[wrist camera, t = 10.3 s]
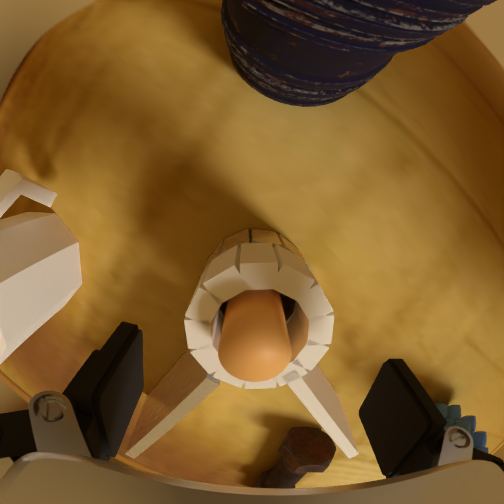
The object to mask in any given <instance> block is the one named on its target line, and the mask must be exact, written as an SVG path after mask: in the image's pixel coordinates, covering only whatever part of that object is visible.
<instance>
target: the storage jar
mask: <svg viewBox="0 0 504 504" xmlns="http://www.w3.org/2000/svg"><path fill="white" fill-rule="evenodd" d="M495 1H496V0H223V2H222V10H221V18H222V25H223V28H224V32H225V38H226V41H227V44H228V48H229V51H230V56H231V59H232V62H233V64H234V66H235V68H236V70H237V72H238V73H239V74H240V75H241V77H242V78H243V79H244V80H245V81H246V82H247V83H248V84H249V85H250V86H251V87H252V88H254V89H255V90H256V91H258V92H259V93H261V94H263V95H264V96H266V97H268V98H270V99H273V100H275V101H278V102H280V103H284V104H288V105H293V106H302V107H312V106H320V105H326V104H329V103H332V102H335V101H337V100H339V99H341V98H343V97H344V96H346V95H347V94H348V93H350V92H352V91H354V90H356V89H358V88H360V87H361V86H363V85H364V84H365V83H367V82H368V81H369V80H371V79H372V78H373V77H374V76H375V75H376V74H377V73H378V72H380V71H381V70H382V69H383V68H384V67H385V66H386V65H387V64H388V63H389V62H390V61H391V59H392V57H393V56H394V55H395V54H396V53H398V52H404V51H407V50H409V49H414V48H417V47H419V46H422V45H425V44H427V43H428V42H430V41H431V40H433V39H434V38H435V37H436V36H438V35H441V34H443V33H444V32H446V31H448V30H450V29H451V28H453V27H455V26H457V25H458V24H460V23H461V22H463V21H465V19H466V18H467V17H468V15H470V14H472V13H473V12H475V11H477V10H479V9H480V8H482V6H483V5H489V4H491V3H493V2H495Z"/></svg>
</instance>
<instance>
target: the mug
mask: <svg viewBox="0 0 504 504" xmlns="http://www.w3.org/2000/svg"><path fill="white" fill-rule="evenodd" d="M20 195H23V196H25V197H28V198H30V199H32V200H34V201H37V202H39V203H41V204H43V205H46V206H48V207H51V205H52V203H53V201H54V199H55V198H56V196H57V193H55V192H53V191H51V190H49V189H48V188H46V187H44V186H43V185H41V184H39V183H37V182H35V181H33V180H31V179H29V178H27V177H25V176H24V175H22V174H20V173H18V172H15V171H12V170H9V169H6V170H5V171H4V172H3V173H2V175H1V176H0V218H1V216H2V215H3V214H4V213H5V212H6V211H7V209H8V208H9V207H10V206H11V205H12V204H13V203H14V202H15V201H16V200H17V198H18V197H19V196H20ZM81 284H82V276H81V266H80V254H79V242H78V240H77V239H76V238H75V237H74V235H73V234H72V233H71V232H70V231H69V229H68V228H67V227H66V226H65V224H64V223H63V222H62V221H61V219H60V218H59V217H58V215H57V214H56V213H43V212H25V213H21V214H18V215H14V216H11V217H7V218H4V219H1V220H0V364H1V363H2V362H3V361H4V360H5V359H6V358H7V357H8V356H9V355H10V354H11V353H12V352H13V351H14V350H15V349H16V348H17V347H19V346H20V345H21V344H22V343H23V342H24V341H25V340H26V339H27V338H28V337H29V336H30V335H32V334H33V333H34V332H35V331H36V330H37V329H38V328H39V327H40V326H42V325H43V324H44V323H45V322H46V321H47V320H48V319H50V318H51V317H52V316H53V315H54V314H55V313H56V312H58V311H59V310H60V309H61V308H62V307H64V306H65V305H66V304H67V302H68V301H69V300H70V298H71V297H72V296H73V295H74V293H75V292H76V291H77V289H78V288H79V287H80V286H81Z"/></svg>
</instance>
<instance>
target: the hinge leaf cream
mask: <svg viewBox="0 0 504 504" xmlns="http://www.w3.org/2000/svg"><path fill="white" fill-rule="evenodd" d="M265 289H274V290H276V291H278V292H280V293H282V294H284V295H286V296H288V297H290V298H292V299H294V300H296V301H297V308H296V311H295V313H294V314H293V316H292V317H291V319H290V320H289V322H288V323H287V325H286V326H287V331H288V336H289V341H290V346H291V359H290V362H289V364H288V366H287V367H286V368H285V370H284V371H283V372H281V373H280V374H279V375H277V376H276V377H274V378H272V379H269V380H266V381H261V382H249V381H244V380H240V379H238V378H235V377H233V376H232V375H230V374H229V373H228V372H227V371H226V370H225V369H224V368H223V367H222V365H221V363H220V361H219V357H218V348H219V343H220V338H221V333H222V328H223V323H224V319H223V317H222V316H221V315H220V313H219V307H220V306H221V304H222V303H223V302H225V301H227V300H229V299H230V298H232V297H234V296H236V295H237V294H239V293H241V292H243V291H245V290H265ZM184 324H185V331H186V337H187V344H188V349H191V351H190V353H191V354H192V355H193V356H194V358H195V359H196V360H197V361H198V362H199V363H200V365H201V366H202V367H203V368H204V369H205V370H206V371H207V373H208V374H211V373H213V377H214V378H217V379H219V380H221V381H224V382H226V383H229V384H231V385H234V386H237V387H239V388H241V387H242V386H243V385H244V383H245V389H260V388H276V382H277V383H278V384H279V386H280V387H281V386H283V385H285V384H288V385H289V386H290V388H291V389H292V390H293V392H294V393H295V394H296V395H297V397H298V398H299V399H300V400H301V402H302V403H303V404H304V405H305V407H306V408H307V409H308V410H309V411H310V413H311V414H312V415H313V416H314V418H315V419H316V420H317V421H318V422H319V424H320V425H321V426H322V427H323V428H324V430H325V431H326V432H327V433H328V434H329V436H330V437H331V438H332V439H333V440H334V441H335V443H336V444H337V445H338V446H339V447H340V448H341V450H342V451H343V452H344V453H345V454H346V455H347V457H348V458H349V459H350V458H352V457H354V456H356V455H358V454H359V453H358V450H357V447H356V444H355V441H354V438H353V436H352V433H351V430H350V427H349V425H348V422H347V419H346V416H345V414H344V411H343V408H342V405H341V403H340V400H339V397H338V395H337V394H336V392H335V391H334V389H333V388H332V386H331V385H330V383H329V382H328V380H327V379H326V377H325V375H324V374H323V372H322V371H321V369H320V368H319V366H318V365H317V363H318V362H319V361H320V359H321V358H322V357H323V355H324V354H325V353H326V352H327V350H328V349H329V346H328V344H331V340H332V332H333V324H334V314H333V309H332V307H331V305H330V303H329V301H328V300H327V298H326V296H325V294H324V292H323V290H322V289H321V287H320V285H319V283H318V282H317V280H316V278H315V277H314V275H313V274H312V272H311V270H310V269H309V267H308V266H307V264H306V262H305V261H303V260H302V258H301V257H300V256H298V255H296V254H294V253H292V252H290V251H289V250H287V249H285V248H283V247H281V246H279V245H277V244H275V246H274V248H273V246H272V243H241V250H240V249H239V247H238V245H236V246H234V247H232V248H231V249H229V250H227V251H226V252H224V253H222V254H221V255H219V256H217V257H216V258H214V259H212V261H211V264H210V263H209V264H208V266H207V268H206V270H205V272H204V274H203V276H202V278H201V280H200V282H199V283H198V285H197V288H196V290H195V292H194V295H193V297H192V299H191V302H190V304H189V306H188V309H187V311H186V314H185V319H184Z"/></svg>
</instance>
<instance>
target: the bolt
mask: <svg viewBox="0 0 504 504" xmlns="http://www.w3.org/2000/svg"><path fill="white" fill-rule="evenodd" d="M278 451H279V453H280V454H281V455H282V457H283V458H282V459H281V460H280V461H279V463H278V464H277V465H276V466H275V468H274V469H273V470H272V471H269V472H264V473H263V475H262V476H261V477H260V479H259V480H258V481H257V482H256V484H255V485H254V487H253V488H275V489H292V488H295V484H296V483H297V482H298V481H299V480H300V479H301V478H302V477H303V476H304V475H305V474H306V473H307V472H323V471H324V470H325V469H326V468H327V467H328V466H329V464H330V463H331V461H332V459H333V456H334V454H335V451H336V446H335V444H334V442H333V441H332V439H331V438H330V437H329V436H328V435H327V434H326V433H325V432H323V431H321V430H319V429H316V428H308V427H296V428H293V429H292V430H291V431H290V433H289V434H288V436H287V437H286V439H285V440H284V442H283V443H282V445H281V446H280V448H279V449H278Z"/></svg>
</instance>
